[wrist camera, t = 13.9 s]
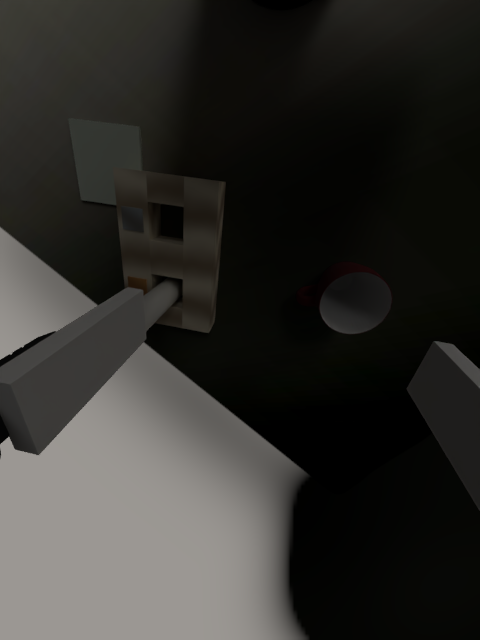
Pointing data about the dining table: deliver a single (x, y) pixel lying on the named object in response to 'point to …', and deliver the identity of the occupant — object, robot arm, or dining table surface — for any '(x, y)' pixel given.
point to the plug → (161, 299)
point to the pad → (103, 156)
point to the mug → (349, 298)
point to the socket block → (172, 240)
